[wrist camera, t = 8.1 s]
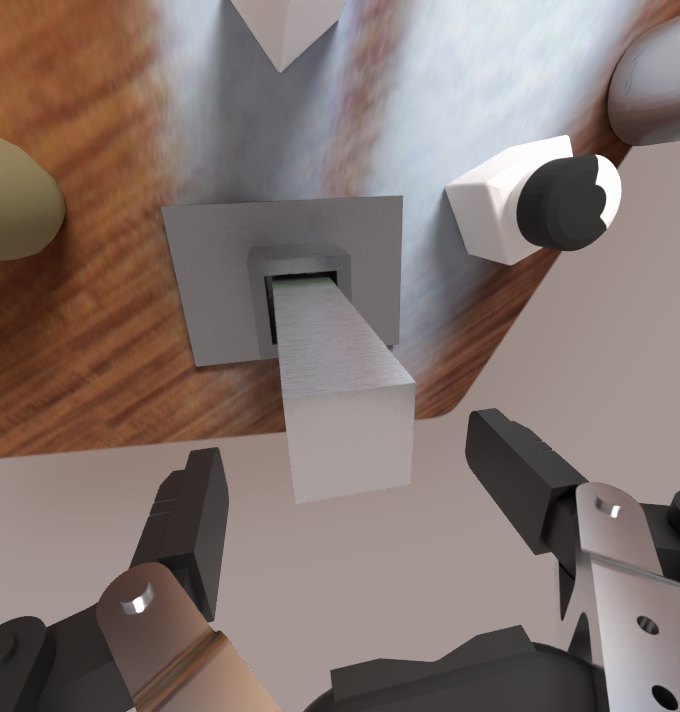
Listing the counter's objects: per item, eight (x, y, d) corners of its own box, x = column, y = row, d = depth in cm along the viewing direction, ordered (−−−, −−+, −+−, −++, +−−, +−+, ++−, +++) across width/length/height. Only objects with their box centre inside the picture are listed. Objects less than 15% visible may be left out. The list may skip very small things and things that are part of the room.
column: (325, 272, 27) (415, 382, 11) (328, 323, 29) (410, 484, 13) (271, 276, 27) (282, 399, 10) (277, 328, 28) (295, 504, 12)
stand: (398, 195, 33) (451, 194, 24) (395, 340, 39) (436, 385, 29) (164, 206, 30) (118, 210, 20) (198, 361, 36) (174, 420, 26)
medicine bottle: (467, 255, 36) (552, 279, 26) (442, 185, 33) (527, 180, 23) (530, 218, 36) (643, 227, 25) (511, 145, 33) (631, 119, 22)
